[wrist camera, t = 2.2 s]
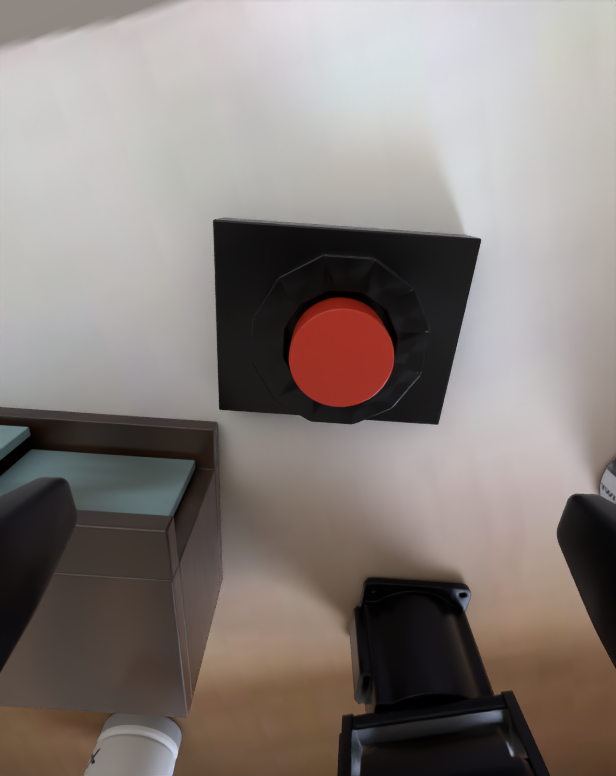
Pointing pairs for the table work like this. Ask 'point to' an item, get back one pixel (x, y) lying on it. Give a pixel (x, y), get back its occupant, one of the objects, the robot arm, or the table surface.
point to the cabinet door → (11, 438)
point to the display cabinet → (120, 563)
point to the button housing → (329, 280)
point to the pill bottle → (609, 482)
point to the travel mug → (135, 746)
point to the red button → (340, 352)
